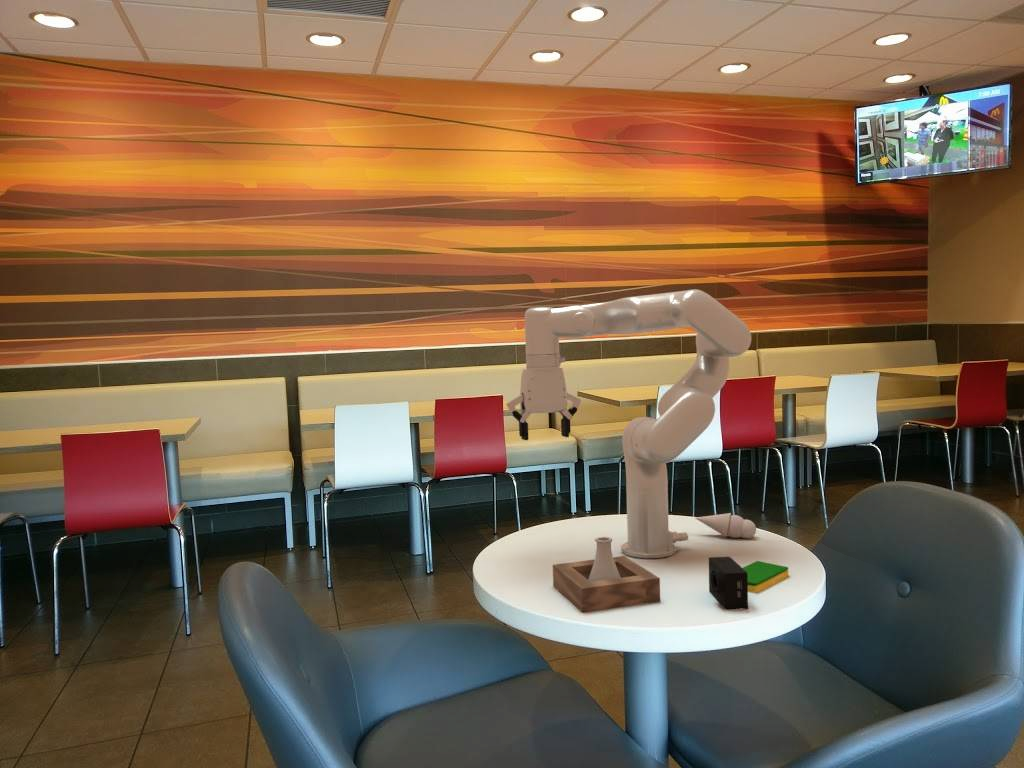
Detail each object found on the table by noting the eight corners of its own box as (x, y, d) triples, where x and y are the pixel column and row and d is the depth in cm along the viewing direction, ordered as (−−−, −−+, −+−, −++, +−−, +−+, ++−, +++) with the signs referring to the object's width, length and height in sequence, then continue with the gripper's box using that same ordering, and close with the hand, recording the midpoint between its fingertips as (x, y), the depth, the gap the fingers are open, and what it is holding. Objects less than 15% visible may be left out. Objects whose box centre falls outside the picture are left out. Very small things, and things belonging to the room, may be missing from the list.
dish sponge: (723, 587, 154) (723, 575, 153) (757, 571, 163) (757, 560, 163) (756, 595, 148) (755, 583, 148) (789, 578, 158) (789, 566, 158)
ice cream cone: (692, 533, 193) (753, 547, 188) (691, 523, 188) (754, 537, 183) (696, 512, 196) (757, 525, 191) (696, 501, 191) (758, 514, 186)
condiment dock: (624, 576, 161) (624, 555, 161) (660, 601, 146) (659, 578, 146) (553, 586, 157) (552, 564, 156) (582, 612, 141) (581, 588, 141)
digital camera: (702, 591, 151) (702, 556, 150) (730, 590, 151) (729, 555, 150) (718, 610, 140) (718, 573, 140) (747, 609, 140) (747, 571, 140)
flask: (579, 588, 152) (577, 539, 151) (603, 579, 156) (602, 531, 156) (606, 597, 146) (605, 545, 146) (630, 587, 151) (629, 538, 150)
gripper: (572, 360, 178) (574, 433, 179) (501, 363, 173) (503, 438, 174) (584, 361, 170) (587, 437, 171) (510, 364, 166) (513, 442, 167)
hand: (545, 438), depth 173 cm, fingers open, 9 cm apart
